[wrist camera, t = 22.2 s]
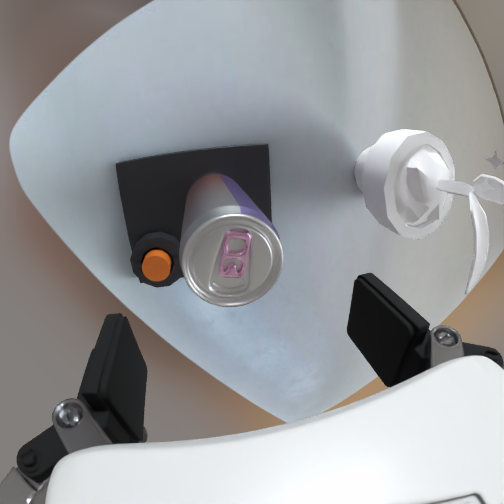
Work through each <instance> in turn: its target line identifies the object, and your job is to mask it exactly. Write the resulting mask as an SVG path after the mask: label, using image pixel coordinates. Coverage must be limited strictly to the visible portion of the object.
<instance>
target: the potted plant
mask: <svg viewBox="0 0 504 504" xmlns="http://www.w3.org/2000/svg"><path fill="white" fill-rule="evenodd" d="M486 160H488V161H489V162H491V163H492V164H493V166H494V168H495V169H496V167H497V166H498V165H499V164H504V162H502V161H501V160H500V159H499V158H498V157H497V154H496V151H495V155H494V156H493V157H492V158H488V159H486ZM354 174H355V179H356V184H357V186H358V187H359V188H360V190H361V191H362V192H363V194H364V198H365V204H366V207H367V209H368V210H369V211H370V212H371V213H372V215H373V216H374V217H375V219H376V220H377V221H378V222H379V224H381V225H383V226H384V227H386V228H388V229H390V230H391V231H393V232H395V233H396V234H398V235H400V236H403V237H408V238H412V239H417V240H419V239H421V238H423V237H425V236H427V235H429V234H430V233H432V232H434V231H436V230H437V228H438V227H439V225H440V224H441V223H442V221H443V220H444V218H445V217H446V215H447V214H448V212H449V210H450V206H451V203H452V199H453V195H454V194H455V195H461V196H466V197H469V200H470V212H471V218H472V224H473V231H474V256H473V261H472V266H471V270H470V275H469V279H468V283H467V287H466V290H465V294H466V295H467V294H468V292H469V291H470V290H471V289H472V287H473V286H474V285H475V284H476V282H477V281H478V279H479V277H480V275H481V272H482V270H483V268H484V266H485V263H486V260H487V254H488V248H489V242H490V238H489V230H488V224H487V218H486V214H485V212H484V211H483V209H482V207H481V206H480V204H479V202H478V200H477V197H476V195H478V196H479V197H480V198H482V199H485V200H489V201H493V202H497V203H499V204H502V205H504V181H502V180H501V179H499V178H497V177H494V176H490V175H485V174H481V175H480V176H478V177H477V178H476V179H474V180H473V187H472V186H470V185H468V184H466V183H464V182H458V181H455V172H454V162H453V160H452V158H451V156H450V154H449V152H448V150H447V148H446V146H445V144H444V142H443V141H441V140H440V139H438V138H437V137H435V136H433V135H432V134H430V133H428V132H425V131H416V130H405V129H402V130H398V131H393V132H389V133H385V134H383V135H382V136H381V137H380V139H379V140H378V141H377V142H376V143H375V145H373V146H371V147H369V148H367V149H365V150H364V151H363V152H362V154H361V155H360V156H359V157H358V158H357V161H356V165H355V170H354Z"/></svg>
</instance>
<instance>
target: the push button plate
mask: <svg viewBox="0 0 504 504" xmlns="http://www.w3.org/2000/svg"><path fill="white" fill-rule="evenodd" d="M116 170H117V177H118V183H119V190H120V195H121V201H122V207H123V212H124V217H125V222H126V227H127V231H128V236H129V240H130V245H131V249H132V256H131V259H130V261H131V265H132V268H133V272H134V274H135V275H136V276H137V277H138V278H139V280H140V283H145V284H148V285H151V286H154V287H164V286H170V285H171V284H173V283H174V282H175V281H177V280H178V279H179V278H182V277H184V275H183V272H182V269H181V266H180V261H179V249H180V241H181V233H182V225H183V218H184V211H185V204H186V198H187V194H188V191H189V190H190V188H191V186H192V185H193V184H194V183H195V182H196V181H197V180H199V179H200V178H202V177H204V176H207V175H211V174H220V175H224V176H227V177H229V178H231V179H233V180H234V181H235V182H236V183H237V184H238V185H239V186H240V187H241V189H242V190H243V191H244V192H245V193H246V194H247V195H248V196H249V198H250V199H251V200H252V201H253V202H254V203H255V204H256V206H257V207H258V208H259V209H260V210H261V211H262V213H263V214H264V215H265V216H266V217H267V218H268V219H269V221H270V222H271V223H272V215H271V190H270V168H269V149H268V144H250V145H237V146H225V147H215V148H206V149H197V150H189V151H182V152H175V153H168V154H162V155H156V156H150V157H144V158H139V159H133V160H128V161H123V162H119V163H116ZM153 249H161V250H163V251H165V252H166V253H167V254H168V255H169V256H170V258H171V268H170V273H169V275H168V277H167V278H166V279H164V280H162V281H151V280H149V279H148V278H147V277H146V276H145V275H144V274H143V271H142V264H143V261H144V258H145V256H146V254H147V253H148V252H149V251H151V250H153Z"/></svg>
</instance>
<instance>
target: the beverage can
mask: <svg viewBox="0 0 504 504" xmlns="http://www.w3.org/2000/svg"><path fill="white" fill-rule="evenodd" d="M179 261H180V266H181V269H182V272H183V275H184V278H185V280H186V282H187V284H188V286H189V287H190V289H191V290H192V291H193V292H194V293H195V294H196V295H197V296H198V297H199V298H201V299H202V300H204V301H206V302H208V303H211V304H213V305H217V306H222V307H237V306H242V305H246V304H249V303H252V302H254V301H256V300H258V299H259V298H261V297H262V296H264V295H265V294H266V293H267V292H268V291H269V290H270V289H271V288H272V287H273V286H274V284H275V283H276V281H277V279H278V278H279V275H280V273H281V270H282V266H283V250H282V246H281V243H280V238H279V235H278V233H277V231H276V229H275V227H274V226H273V224H272V223H271V222H270V221H269V219H268V218H267V217H266V216H265V215H264V214H263V213H262V211H261V210H260V209H259V208H258V207H257V206H256V204H255V203H254V202H253V201H252V200H251V199H250V198H249V196H248V195H247V194H246V193H245V192H244V191H243V190H242V189H241V187H240V186H239V185H238V184H237V183H236V182H235V181H234V180H233V179H231V178H229V177H227V176H224V175H220V174H211V175H207V176H204V177H202V178H200V179H199V180H197V181H196V182H195V183H194V184H193V185H192V186H191V188H190V190H189V191H188V194H187V198H186V204H185V211H184V218H183V225H182V233H181V241H180V249H179Z"/></svg>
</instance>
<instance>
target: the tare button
mask: <svg viewBox="0 0 504 504" xmlns="http://www.w3.org/2000/svg"><path fill="white" fill-rule="evenodd" d="M170 268H171V258H170V256H169V255H168V254H167V253H166V252H165V251H163V250H161V249H153V250H151V251H149V252H148V253H147V254H146V256H145V258H144V261H143V264H142V271H143V274H144V275H145V276H146V277H147V278H148V279H149V280H151V281H162V280H164V279H166V278H167V277H168V275H169V273H170Z"/></svg>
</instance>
